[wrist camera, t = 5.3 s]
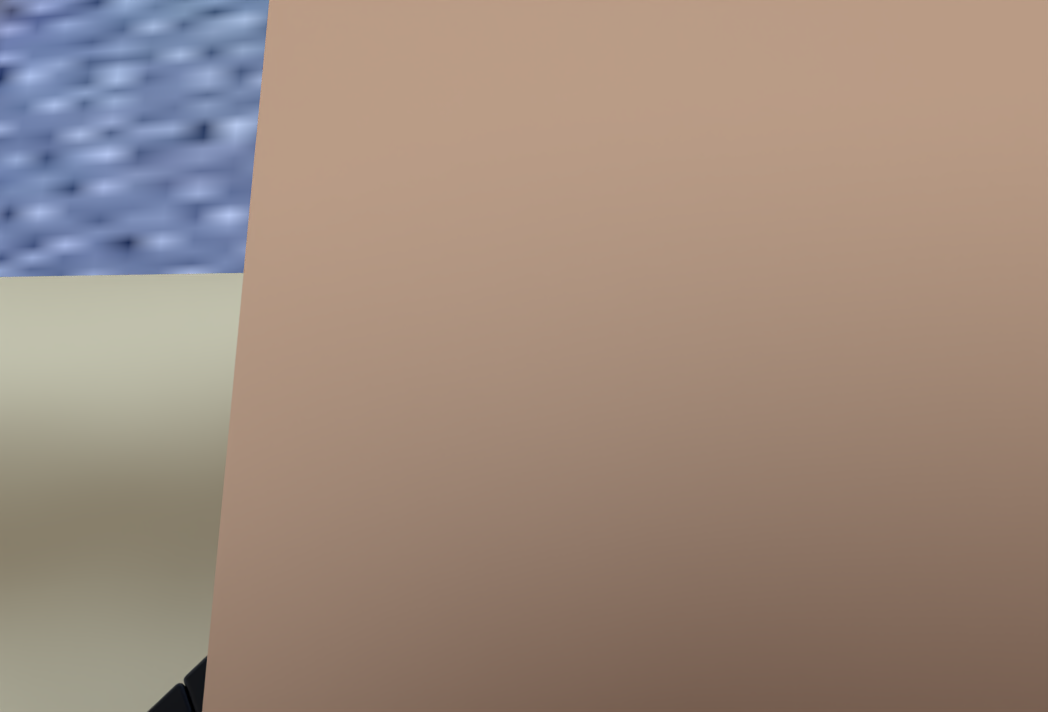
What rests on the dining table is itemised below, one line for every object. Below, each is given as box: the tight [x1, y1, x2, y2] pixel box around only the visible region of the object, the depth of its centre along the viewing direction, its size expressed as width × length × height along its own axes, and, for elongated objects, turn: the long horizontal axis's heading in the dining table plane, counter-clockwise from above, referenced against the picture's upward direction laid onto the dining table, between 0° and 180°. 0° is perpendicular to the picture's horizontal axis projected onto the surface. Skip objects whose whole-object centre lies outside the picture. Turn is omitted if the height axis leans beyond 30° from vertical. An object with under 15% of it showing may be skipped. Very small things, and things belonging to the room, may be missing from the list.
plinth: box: [0, 273, 244, 712], centre depth 15 cm, size 9×9×3 cm
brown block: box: [202, 0, 1048, 712], centre depth 9 cm, size 5×5×12 cm
